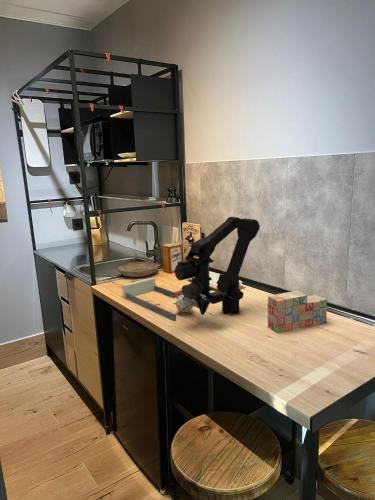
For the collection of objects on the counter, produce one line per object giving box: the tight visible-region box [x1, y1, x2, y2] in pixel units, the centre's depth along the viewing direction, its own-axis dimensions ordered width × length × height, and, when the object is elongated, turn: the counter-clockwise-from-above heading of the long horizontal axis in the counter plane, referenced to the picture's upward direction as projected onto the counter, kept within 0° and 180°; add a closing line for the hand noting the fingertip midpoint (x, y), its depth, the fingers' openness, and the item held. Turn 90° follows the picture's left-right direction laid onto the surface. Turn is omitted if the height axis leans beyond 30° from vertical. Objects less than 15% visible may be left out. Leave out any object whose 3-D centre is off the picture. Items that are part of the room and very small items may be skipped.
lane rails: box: [125, 284, 199, 322], centre depth 163 cm, size 38×17×2 cm, turn 39°
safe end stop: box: [121, 277, 156, 299], centre depth 178 cm, size 2×17×6 cm, turn 129°
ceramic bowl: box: [117, 261, 160, 278], centre depth 213 cm, size 23×24×5 cm
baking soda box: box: [161, 242, 184, 275], centre depth 216 cm, size 10×6×16 cm
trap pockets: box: [173, 289, 194, 301], centre depth 168 cm, size 16×9×2 cm, turn 39°
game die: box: [173, 293, 195, 315], centre depth 151 cm, size 9×8×10 cm
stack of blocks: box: [267, 290, 328, 334], centre depth 135 cm, size 21×6×12 cm, turn 111°
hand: (202, 314), depth 143 cm, fingers closed
